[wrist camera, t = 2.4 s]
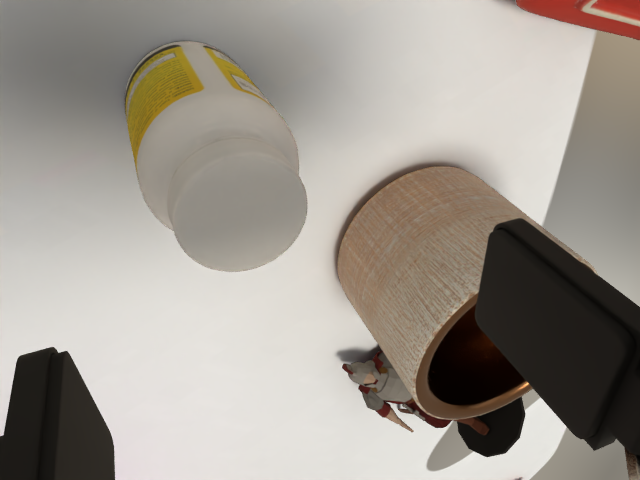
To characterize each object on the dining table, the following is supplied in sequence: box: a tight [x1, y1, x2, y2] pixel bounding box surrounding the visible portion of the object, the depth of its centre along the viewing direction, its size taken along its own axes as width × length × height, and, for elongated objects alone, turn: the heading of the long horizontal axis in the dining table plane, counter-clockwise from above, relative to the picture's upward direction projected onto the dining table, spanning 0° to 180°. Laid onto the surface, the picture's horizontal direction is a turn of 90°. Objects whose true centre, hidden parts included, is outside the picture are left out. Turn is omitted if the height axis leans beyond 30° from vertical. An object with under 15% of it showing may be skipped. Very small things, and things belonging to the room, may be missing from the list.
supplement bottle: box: [125, 41, 307, 272], centre depth 18 cm, size 5×5×10 cm
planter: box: [338, 166, 598, 420], centre depth 28 cm, size 11×11×10 cm
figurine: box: [342, 351, 525, 457], centre depth 37 cm, size 7×7×15 cm
